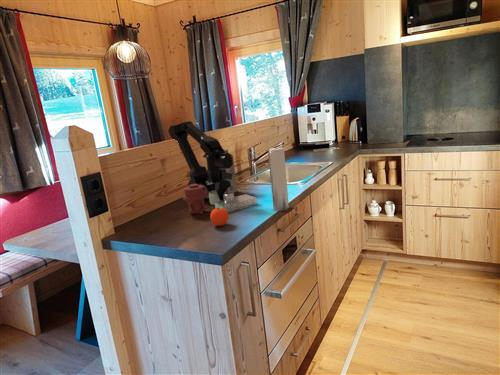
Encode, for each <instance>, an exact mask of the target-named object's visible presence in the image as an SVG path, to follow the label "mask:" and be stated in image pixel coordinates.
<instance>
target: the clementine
mask: <svg viewBox="0 0 500 375" xmlns="http://www.w3.org/2000/svg"><path fill="white" fill-rule="evenodd" d="M224 208H225V207H224ZM224 208H223V207H218V208H215V207H214V209H212V211H211V212H210V216H209V218H210V221H211V223H212V224H213V225H215V226H216V227H222V226H224V225H226V224H227V223H228V222H229V212H227V211H226V210H227V209H226V210H225V209H224Z"/></svg>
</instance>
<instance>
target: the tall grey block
mask: <svg viewBox="0 0 500 375" xmlns="http://www.w3.org/2000/svg"><path fill="white" fill-rule="evenodd" d="M267 155H268V165H269V167H268V168H269V176H270V187H271V188H270V189H271V197H272V198H271V199H272V207H273V211H277V212H284V211H287V210H289V209H290V205H289V204H290V203H289V194H288V193H289V192H288V179H287V178H288V177H287V169H286V168H287V167H286V159H285V158H286V156H285V150H284V147H273V148H269V151H267Z"/></svg>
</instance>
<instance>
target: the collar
mask: <svg viewBox="0 0 500 375" xmlns="http://www.w3.org/2000/svg"><path fill="white" fill-rule="evenodd" d="M208 197H209V198H208V200H209V204H210V205H212V206H213V205H214V206H215V203H214V202H218V201H220V199H219V197H218V195H217V192H216V190H214V191H211V192H208Z"/></svg>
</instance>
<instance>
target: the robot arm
mask: <svg viewBox="0 0 500 375" xmlns="http://www.w3.org/2000/svg"><path fill="white" fill-rule="evenodd" d="M167 132H168V134H169V136H170V138H171V139H172V140H173V139H175V140H177V141H178V143H179V144H178V143H177V144H178V147H179V148H180V150H181V153H182V155H183V157H184V158H185V161H186V163H187V165H188V168H189V178H190V179H189V181H188V183H187V187H188V186H189V185H191V184H198V185H203V186H204V192H206V191H207V192H208V193H209V192H211V191H214V190H216V192H217V195H218V197H219V199H220V201H222V200H224V195H223V194H225V191H226V189H227V188H229V187H231V182H230V181H228V180H224V179H229V180H232V175H233V173H228V172H226V170H223V169H221V168H226V169H229V168H230V167H231V166H232V164H233V161H234V159H233V160H232V158H231V157H230V156H229V155H228V153H229V152H228V153H225V151H224V150H225V149H224V148H223V147H222V145H221V143H220V141H219V140H218V139H217V138H215V137H213V136H210V135H207V134H206V133H205V132H203V131H202V130H201V129H199V128H198V127H197V126H196V125H195V124H194V123H193V122H192V121H189V120H188V121H182V122H181V123H178V124H172V125H170V126H169V128H168V131H167ZM188 136H190V137H191V138H192V139H194V140H195V142H197V143H198V144H199V147H200V149H201V150H202V151H203V153H204V155H203V156H202V158H205V159H206V166H202V165H200V163H199V160H198V159H197V156H196V154H195V153H194V151H193V148H192V145H191V144H190V142H189V140H188ZM206 167H207V168H206ZM207 199H208V200H209V196H207V197H206V198H204V200H207Z"/></svg>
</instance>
